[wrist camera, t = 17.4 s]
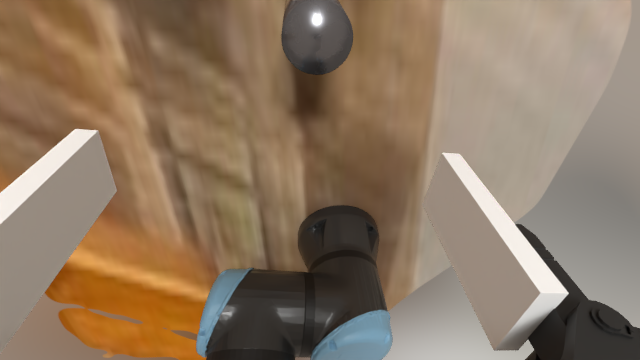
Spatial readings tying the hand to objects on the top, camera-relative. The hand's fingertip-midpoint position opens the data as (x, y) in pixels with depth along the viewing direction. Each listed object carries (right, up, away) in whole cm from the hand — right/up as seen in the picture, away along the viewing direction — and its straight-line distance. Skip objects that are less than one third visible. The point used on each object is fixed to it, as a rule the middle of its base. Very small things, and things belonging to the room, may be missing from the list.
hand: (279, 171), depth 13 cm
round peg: (+1, +20, +25) cm, 32 cm away
